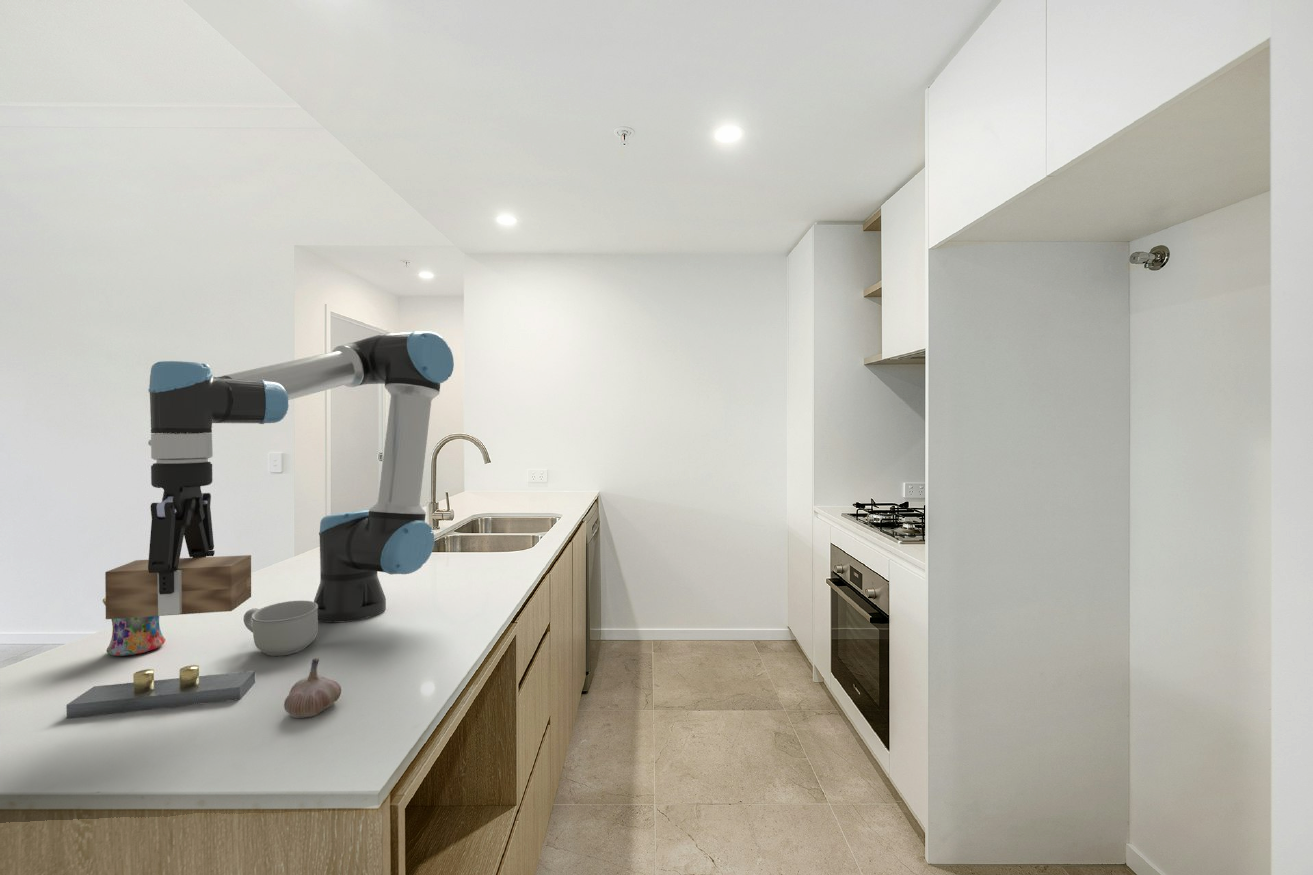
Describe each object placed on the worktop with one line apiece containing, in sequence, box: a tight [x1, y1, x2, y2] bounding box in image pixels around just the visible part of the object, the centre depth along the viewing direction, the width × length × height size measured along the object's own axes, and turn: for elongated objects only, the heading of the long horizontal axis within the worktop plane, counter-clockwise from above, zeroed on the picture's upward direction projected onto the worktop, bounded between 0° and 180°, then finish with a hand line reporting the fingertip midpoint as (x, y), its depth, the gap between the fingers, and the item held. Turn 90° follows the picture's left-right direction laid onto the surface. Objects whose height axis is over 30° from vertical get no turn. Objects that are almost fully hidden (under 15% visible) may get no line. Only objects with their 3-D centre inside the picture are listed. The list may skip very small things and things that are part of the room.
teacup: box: [243, 600, 319, 657], centre depth 114 cm, size 14×11×8 cm
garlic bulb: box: [283, 657, 342, 719], centre depth 90 cm, size 8×7×8 cm
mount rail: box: [65, 664, 256, 719], centre depth 93 cm, size 22×6×5 cm, turn 106°
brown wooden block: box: [104, 554, 252, 620], centre depth 94 cm, size 16×8×7 cm, turn 106°
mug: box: [102, 596, 166, 657], centre depth 115 cm, size 12×9×11 cm
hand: (184, 605), depth 94 cm, fingers closed on brown wooden block, 8 cm apart
